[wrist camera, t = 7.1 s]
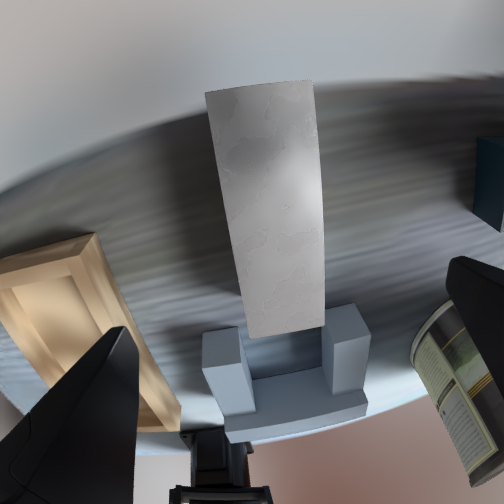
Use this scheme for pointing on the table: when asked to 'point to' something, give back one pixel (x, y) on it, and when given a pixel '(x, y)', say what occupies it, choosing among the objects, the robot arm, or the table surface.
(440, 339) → the coffee can
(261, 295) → the steel block
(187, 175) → the table surface
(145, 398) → the oak tray
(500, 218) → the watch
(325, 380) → the bracket
